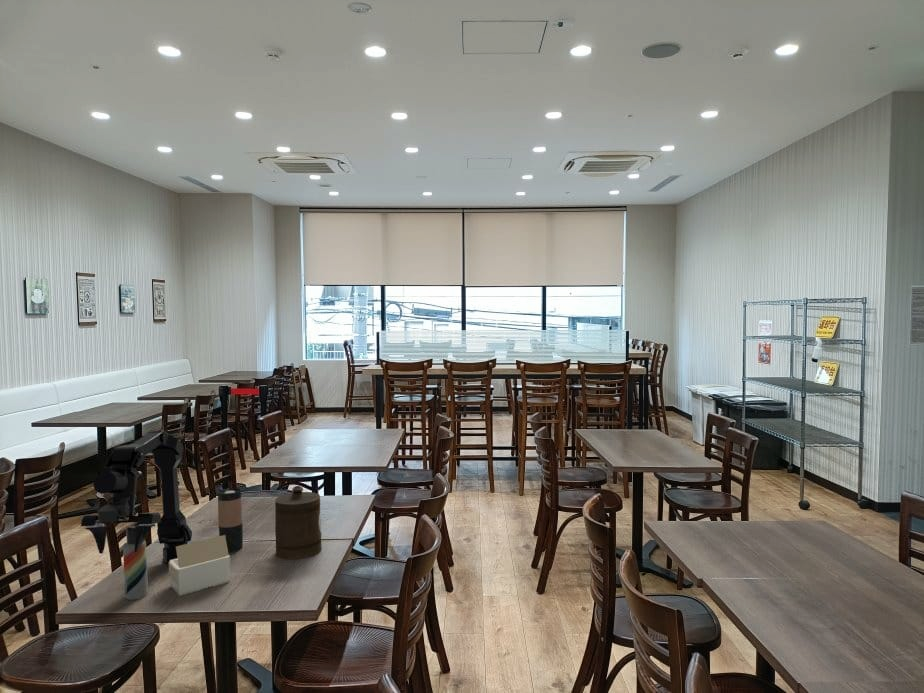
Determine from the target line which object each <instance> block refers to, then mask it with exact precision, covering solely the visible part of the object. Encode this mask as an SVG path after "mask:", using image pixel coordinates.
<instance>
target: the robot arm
mask: <svg viewBox="0 0 924 693" xmlns="http://www.w3.org/2000/svg"><path fill="white" fill-rule="evenodd" d="M183 452H184V445H183V443H182V442H181V441H180V440H179V439H178V438H177V437H175V436H173V435H171V434H169V433H168V431H166V430H150V431H148V432H147V433H146V434H145V435H144V436H142V437H141V438H139V439H137V440H135V441H134V442H133V443H131V444H124V445H120V446H116V447H114V448H113V449H112V451H111V452H110V454H109V456H108V458H107V460H106V462H105V464H104V466H103V467H102V472H100V473H98V474H97V475H96V477H95V478H94V480H93V483H92V484H93V488H94V490H95V491H96V492H97V493H99V494H102V495H104V494H107V495H109V494H111V497H108V499H107V504H105V505H104V506H102V507H101V508H99V509H98V510H97V514H87V515H84V516H83V517H82V518H81V519H80V527H85V530H86V531H87V530H88V531H89V532H90V533H91V534H92V535H93V538H94V540H95V543H96V546H97V551H98V553H99V554H100V555H101V554H103V553H104V550H105V547H106V546H105V545H106V539H107V532H108V525H105V524H122V523H123V524H124V523H128V524H130V523H137V524H138V525H137V526H135V529H136V539H135V552H138V551H139V549H140V547H141V545H142V543H143V541H144V540H146V537H147V535H148V534H149V533H150V530H151V529H152V528H153V527H157V529H156V534H157V537H158V543H159V544H160V545H163V546H164V547H163V548H162V555H163V556H162V560H163V562H164V561H165V563H167V564H169V562H170V560H173V559H177V558H178V557H177V551H176V546H180V545H185V544H189V542H191V541H192V537H193V531H192V529H191V528H190V527H189V524H187V517H186V516H185V514H183V512H182V511H181V510H180V494H179V493H180V492H179V491H180V490H179V478H178V476H179V475H178V466H179V464H180V462H181V460H182V458H183ZM149 453H150V454H152V455H153V462H154V464H156V466H157V467H158V468H159V470H160V483H161V497H162V498H161V500H162V514H160V512H143V513H138V514H137V511H135V505H136V504H135V503H136V501H138V495H137V494H136V493H137V482H138V481H137V479H138V477H140V475H141V473H140V471H138V470H137V469H138V468H139V467H140V466H141V465H142V464H143V463H144V462H145V461H146V460H145V459H146V458H145V456H147V455H149ZM136 495H137V496H136ZM162 560H161V561H162Z"/></svg>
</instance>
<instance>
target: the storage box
mask: <svg viewBox="0 0 924 693" xmlns="http://www.w3.org/2000/svg"><path fill="white" fill-rule="evenodd" d="M230 570H231V556H230V554H229V555H228V556H225V557H221V558H217V559H213V560H209V561H205V562H202V563H198V564H194V565H190V566H186V567H182V568H179V564H178V558H177V559H173V560H170V562H169V563H168V572H169V573H168V575H169V577H170V587H171V586H172V587H171V588H172V589H173V590H174V591H175V593H177V595H178V596H179V597H182V596H185V595H188V593H189V594H192V593H195V592H194V591H196V592H199V591H202V590H201V589H203V590H205V589H204V588H206V589H209V588H208V587H210V588H212V587H211V586H213V587H215V585H217V586H219V585H218V584H220V585H222V584H221V583H224V584H226V583H225V582H227V583H229V582H228V581H230V582H231V577H230V576H231V573H230V572H231V571H230ZM198 590H199V591H198Z"/></svg>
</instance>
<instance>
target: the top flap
mask: <svg viewBox="0 0 924 693" xmlns="http://www.w3.org/2000/svg"><path fill="white" fill-rule="evenodd" d="M176 551H177V557H178V564H179V568H182V567H186V566H190V565H194V564H198V563H202V562H205V561H209V560H213V559H217V558H221V557H225V556H228V555H230V554H229V553H228V549H227V543H226V537H225V535H223V536H219V535H218V536H215V537H210V538H207V539H202V540H199V541H193V542H190V543H189V542H188V544H185V545H180V546H176Z"/></svg>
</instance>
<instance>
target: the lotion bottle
mask: <svg viewBox="0 0 924 693" xmlns="http://www.w3.org/2000/svg"><path fill="white" fill-rule="evenodd" d="M135 526H138V525H129V526H127V527H126V528H125V530H126V532H125V533H126V534H125V535H126V536H125V537H126V541H125V543H124V544H123V545H122V547H123V548H122V550H123V551H122V555H123V556H122V558H123V577H124V578H123V579H124V582H123V583H124V597H125V599H126V600H130V601H133V600H138V599H142V598H144V597H146V596H147V595H148V592H149V591H148V590H149V589H148V587H149V585H148V562H147V558H148V557H147V542H146V539H144V541H143V543H142V545H141V547H140V549H139V551H138V552H135V539H136V529H135Z"/></svg>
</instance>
